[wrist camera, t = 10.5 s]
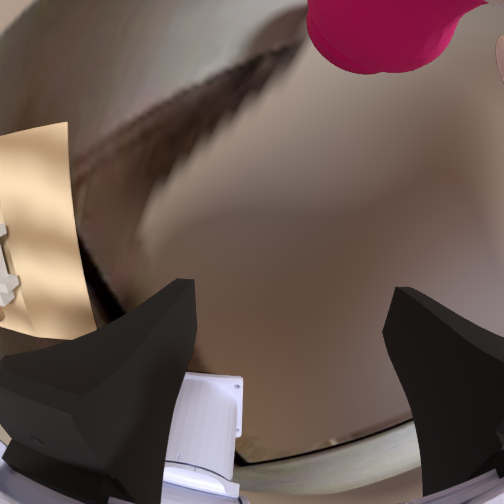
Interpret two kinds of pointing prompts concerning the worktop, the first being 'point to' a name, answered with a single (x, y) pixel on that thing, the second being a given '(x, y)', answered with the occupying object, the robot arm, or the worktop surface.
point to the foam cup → (500, 56)
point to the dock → (41, 236)
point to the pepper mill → (385, 31)
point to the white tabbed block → (6, 277)
